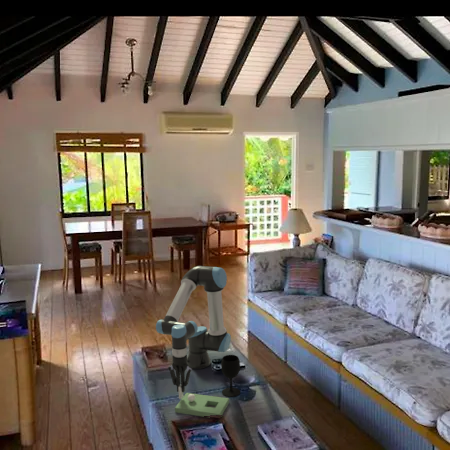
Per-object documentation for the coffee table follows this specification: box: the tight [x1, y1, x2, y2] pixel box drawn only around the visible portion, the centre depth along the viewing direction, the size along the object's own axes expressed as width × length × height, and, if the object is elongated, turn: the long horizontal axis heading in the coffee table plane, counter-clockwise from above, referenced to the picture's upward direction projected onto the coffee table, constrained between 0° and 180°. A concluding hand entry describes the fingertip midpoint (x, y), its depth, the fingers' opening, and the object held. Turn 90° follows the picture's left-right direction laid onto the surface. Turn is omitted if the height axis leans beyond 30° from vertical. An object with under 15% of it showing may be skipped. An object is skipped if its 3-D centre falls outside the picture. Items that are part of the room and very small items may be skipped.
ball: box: [188, 393, 195, 402], centre depth 247 cm, size 4×4×4 cm
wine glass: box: [220, 354, 241, 398], centre depth 260 cm, size 10×10×20 cm
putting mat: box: [174, 392, 230, 417], centre depth 246 cm, size 16×24×2 cm, turn 73°
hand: (181, 397), depth 249 cm, fingers closed
